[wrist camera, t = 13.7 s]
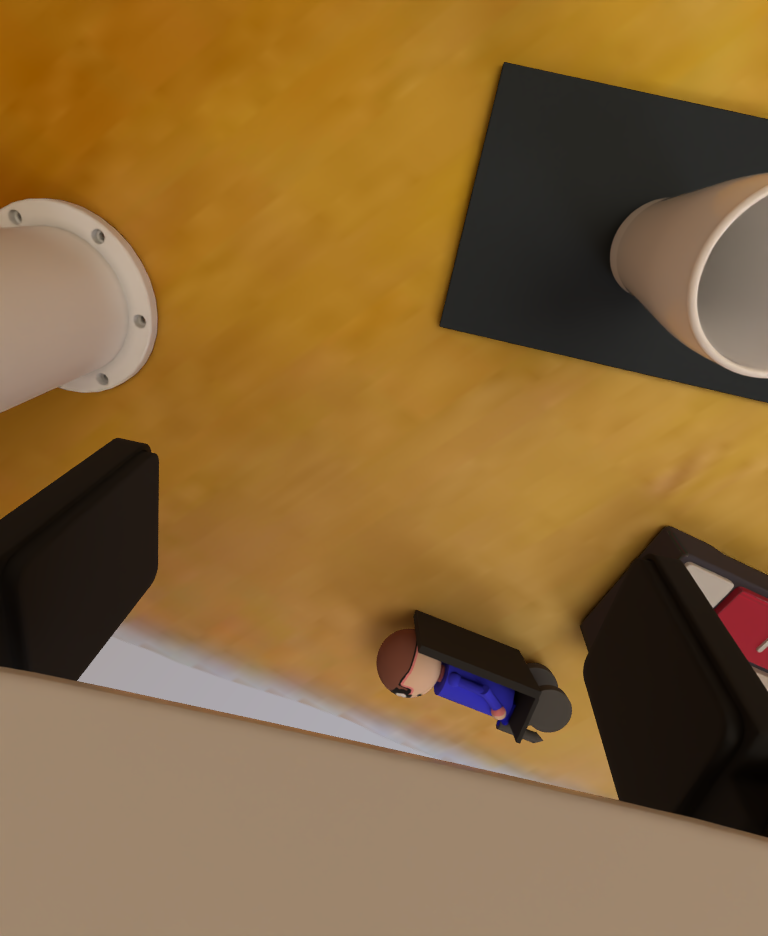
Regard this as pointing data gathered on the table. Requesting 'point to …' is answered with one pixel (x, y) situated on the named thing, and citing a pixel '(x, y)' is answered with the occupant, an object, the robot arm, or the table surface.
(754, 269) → the white cup
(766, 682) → the calculator
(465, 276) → the desk pad
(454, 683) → the character figurine
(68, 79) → the table surface
